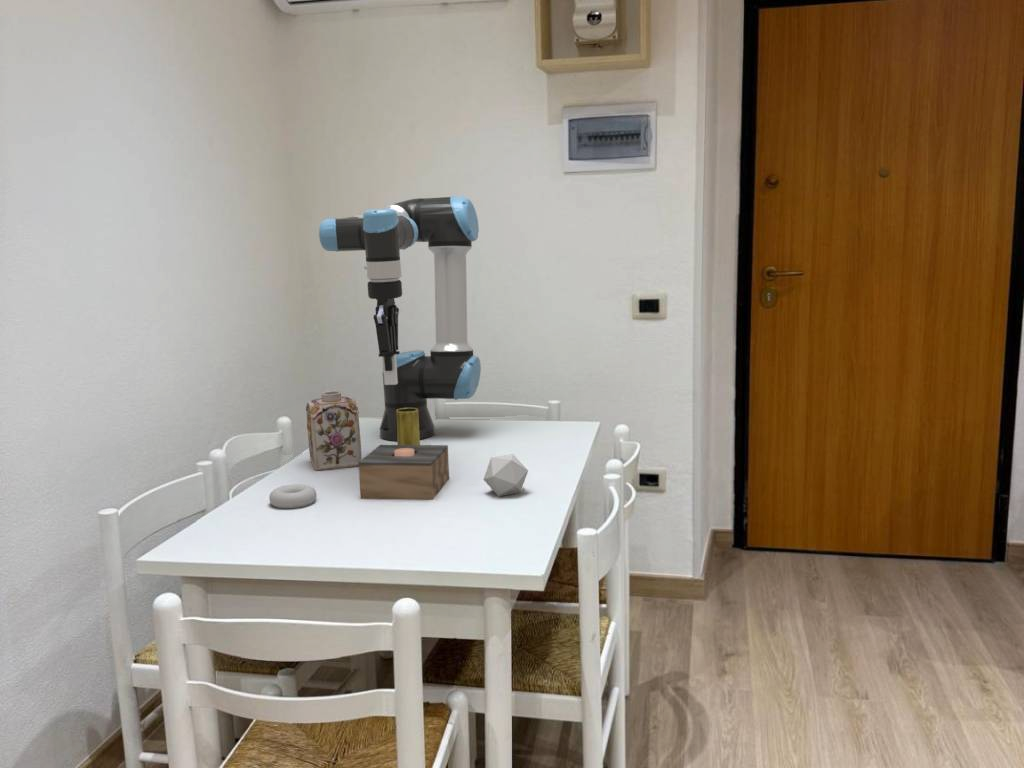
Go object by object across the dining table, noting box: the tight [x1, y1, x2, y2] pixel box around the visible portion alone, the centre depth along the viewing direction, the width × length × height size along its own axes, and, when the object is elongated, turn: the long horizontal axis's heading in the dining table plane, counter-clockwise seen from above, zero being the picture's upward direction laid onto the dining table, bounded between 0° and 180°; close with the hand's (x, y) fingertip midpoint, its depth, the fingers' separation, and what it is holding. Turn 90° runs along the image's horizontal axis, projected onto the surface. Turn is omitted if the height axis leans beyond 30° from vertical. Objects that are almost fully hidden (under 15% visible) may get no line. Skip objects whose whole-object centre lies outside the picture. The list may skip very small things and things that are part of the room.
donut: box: [268, 483, 318, 509], centre depth 206 cm, size 10×3×10 cm
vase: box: [396, 408, 421, 445], centre depth 231 cm, size 6×6×14 cm
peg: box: [394, 448, 415, 456], centre depth 214 cm, size 4×4×8 cm
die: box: [483, 453, 529, 497], centre depth 208 cm, size 8×9×10 cm
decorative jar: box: [305, 390, 362, 472], centre depth 237 cm, size 12×12×18 cm
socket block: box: [358, 444, 450, 500], centre depth 214 cm, size 16×16×8 cm
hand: (391, 383), depth 218 cm, fingers closed
